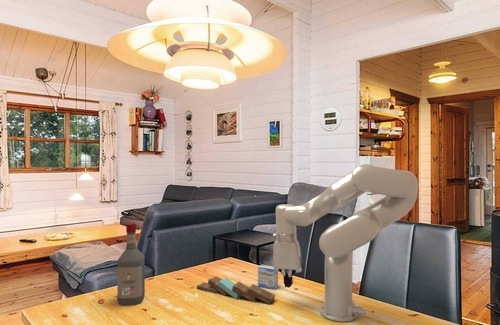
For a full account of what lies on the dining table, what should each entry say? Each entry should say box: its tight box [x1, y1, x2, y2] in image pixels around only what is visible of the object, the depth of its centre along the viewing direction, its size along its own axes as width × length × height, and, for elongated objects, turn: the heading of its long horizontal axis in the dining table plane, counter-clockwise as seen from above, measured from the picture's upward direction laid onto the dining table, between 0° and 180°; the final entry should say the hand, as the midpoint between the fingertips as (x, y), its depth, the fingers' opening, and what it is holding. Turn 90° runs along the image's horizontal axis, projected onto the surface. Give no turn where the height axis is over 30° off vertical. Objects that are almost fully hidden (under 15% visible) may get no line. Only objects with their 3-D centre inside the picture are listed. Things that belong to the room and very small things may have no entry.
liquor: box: [116, 222, 146, 307], centre depth 133 cm, size 9×9×30 cm
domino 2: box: [207, 275, 230, 296], centre depth 143 cm, size 2×5×10 cm
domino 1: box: [196, 281, 220, 295], centre depth 145 cm, size 2×5×10 cm
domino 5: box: [247, 283, 276, 305], centre depth 134 cm, size 2×5×10 cm
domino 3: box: [218, 277, 243, 300], centre depth 139 cm, size 2×5×10 cm
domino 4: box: [232, 281, 258, 303], centre depth 136 cm, size 2×5×10 cm
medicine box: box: [257, 264, 279, 291], centre depth 148 cm, size 8×4×9 cm, turn 62°
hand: (288, 286), depth 129 cm, fingers closed
